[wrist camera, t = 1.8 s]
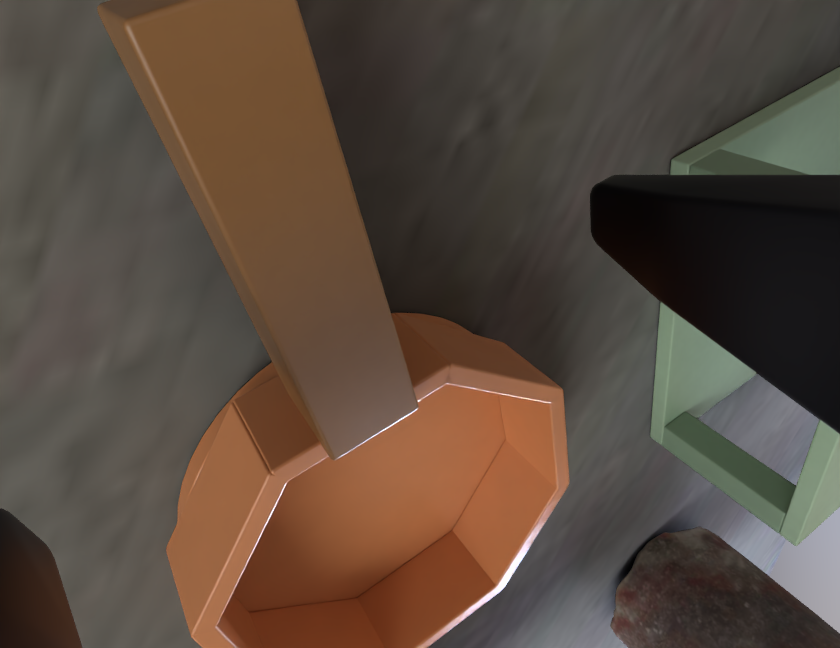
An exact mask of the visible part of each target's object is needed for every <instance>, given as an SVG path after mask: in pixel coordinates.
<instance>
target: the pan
mask: <svg viewBox="0 0 840 648" xmlns="http://www.w3.org/2000/svg"><path fill="white" fill-rule="evenodd" d="M97 9H98V14H99V16H100V18H101V20H102V22H103V24H104V26H105V28H106V30H107V32H108V34H109V36H110V38H111V40H112V42H113V44H114V46H115V48H116V50H117V52H118V54H119V56H120V58H121V60H122V62H123V64H124V66H125V68H126V70H127V72H128V74H129V76H130V78H131V80H132V82H133V84H134V86H135V88H136V90H137V92H138V94H139V96H140V98H141V100H142V102H143V104H144V106H145V108H146V110H147V112H148V114H149V116H150V118H151V120H152V122H153V124H154V126H155V128H156V130H157V132H158V134H159V136H160V138H161V140H162V142H163V144H164V146H165V148H166V150H167V152H168V154H169V156H170V158H171V160H172V162H173V164H174V166H175V168H176V170H177V172H178V174H179V176H180V178H181V180H182V182H183V184H184V186H185V188H186V190H187V192H188V194H189V196H190V198H191V200H192V202H193V204H194V206H195V208H196V210H197V212H198V214H199V216H200V218H201V220H202V222H203V224H204V226H205V228H206V230H207V232H208V234H209V236H210V238H211V240H212V242H213V244H214V246H215V248H216V250H217V252H218V254H219V256H220V258H221V260H222V262H223V264H224V266H225V268H226V270H227V272H228V274H229V276H230V278H231V280H232V282H233V284H234V286H235V288H236V290H237V292H238V294H239V296H240V298H241V300H242V302H243V304H244V306H245V308H246V310H247V312H248V314H249V316H250V318H251V320H252V322H253V324H254V326H255V328H256V330H257V332H258V334H259V336H260V338H261V340H262V342H263V344H264V346H265V348H266V350H267V352H268V354H269V356H270V358H271V360H272V362H271V363H270V364H269V365H267V366H266V367H265V368H263V369H262V370H261V371H259V372H258V373H257V374H256V375H255V376H254V377H253V378H252V379H251V380H249V381H248V382H247V383H246V384H245V385H244V386H243V387H242V388H241V389H240V390H239V391H238V392H237V393H236V394H235V395H234V396H233V397H232V398H231V400H230V401H229V402H228V403H227V404H226V405H225V406H224V408H223V409H222V410H221V411H220V412H219V413H218V415H217V416H216V418H215V419H214V420H213V422H212V423H211V425H210V426H209V428H208V429H207V431H206V432H205V434H204V435H203V436H202V438H201V440H200V442H199V444H198V446H197V448H196V450H195V452H194V454H193V456H192V458H191V460H190V462H189V465H188V468H187V471H186V473H185V476H184V479H183V482H182V486H181V491H180V497H179V502H178V523H177V525H176V527H175V529H174V532H173V534H172V536H171V538H170V540H169V543H168V545H167V547H166V550H167V556H168V559H169V562H170V566H171V569H172V573H173V576H174V580H175V583H176V586H177V590H178V593H179V597H180V600H181V604H182V607H183V610H184V614H185V617H186V621H187V624H188V628H189V631H190V634H191V637H192V638H193V639H194V640H195V641H196V642H197V643H198V644H199V645H200V646H201V647H202V648H427V647H429V646H430V645H431V644H433V643H434V642H435V641H436V640H438V639H439V638H440V637H442V636H443V635H444V634H446V633H447V632H448V631H449V630H451V629H452V628H453V627H455V626H456V625H457V624H459V623H460V622H461V621H462V620H464V619H465V618H466V617H468V616H469V615H470V614H472V613H473V612H474V611H475V610H477V609H478V608H479V607H481V606H482V605H483V604H485V603H486V602H487V601H489V600H490V599H491V598H492V597H494V596H495V595H496V594H498V593H499V592H500V591H501V590H502V589H503V588H504V587H505V585H506V584H507V582H508V581H509V579H510V578H511V576H512V574H513V573H514V571H515V570H516V568H517V566H518V565H519V563H520V562H521V560H522V559H523V557H524V555H525V554H526V552H527V551H528V549H529V547H530V546H531V544H532V543H533V541H534V540H535V538H536V536H537V535H538V533H539V532H540V530H541V528H542V527H543V525H544V524H545V522H546V521H547V519H548V517H549V516H550V514H551V513H552V511H553V509H554V508H555V506H556V505H557V503H558V502H559V500H560V498H561V497H562V495H563V494H564V492H565V490H566V489H567V487H568V486H569V483H570V482H569V467H568V452H567V437H566V422H565V407H564V392H563V389H562V388H561V387H560V386H559V385H557V384H556V383H555V382H554V381H552V380H551V379H550V378H548V377H547V376H546V375H545V374H543V373H542V372H541V371H539V370H538V369H537V368H536V367H534V366H533V365H532V364H530V363H529V362H528V361H527V360H525V359H524V358H523V357H522V356H520V355H519V354H518V353H516V352H515V351H514V350H513V349H511V348H510V347H509V346H507V345H506V344H505V343H503V342H500V341H496V340H493V339H489V338H485V337H482V336H478V335H475V334H472V333H471V332H470V331H468V330H466V329H465V328H463V327H462V326H460V325H458V324H456V323H454V322H451V321H449V320H446V319H444V318H441V317H436V316H431V315H426V314H418V313H391V312H390V309H389V305H388V302H387V299H386V295H385V292H384V289H383V285H382V282H381V279H380V275H379V272H378V269H377V265H376V262H375V259H374V255H373V252H372V249H371V245H370V242H369V239H368V235H367V232H366V229H365V225H364V222H363V219H362V215H361V212H360V209H359V205H358V202H357V199H356V195H355V192H354V189H353V185H352V182H351V179H350V175H349V172H348V169H347V165H346V162H345V159H344V155H343V152H342V149H341V145H340V142H339V139H338V135H337V132H336V129H335V125H334V122H333V119H332V115H331V112H330V109H329V105H328V102H327V99H326V95H325V92H324V89H323V85H322V82H321V79H320V75H319V72H318V69H317V65H316V62H315V59H314V55H313V52H312V49H311V45H310V42H309V39H308V35H307V32H306V29H305V26H304V22H303V19H302V16H301V12H300V9H299V6H298V2H297V0H111V1H107V2H104V3H101V4H100V5H99V6H98V7H97Z"/></svg>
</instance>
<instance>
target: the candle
mask: <svg viewBox="0 0 840 648" xmlns="http://www.w3.org/2000/svg"><path fill="white" fill-rule="evenodd" d="M615 604H616V608H615V610H614V617H613V618H612V622H611V628H612V630H613V631H614V633H615V634H616V636H617V637H618V638H619V639H620V640H621V641H622V642H623V643H624V644H625V645H626V646H627V647H628V648H840V634H839V633H838V632H837V631H836V630H834V629H833V628H832V627H831V626H830V625H828V624H827V623H826V622H825V621H824V620H822V619H821V618H820V617H819V616H818V615H816V614H815V613H814V612H813V611H812V610H810V609H809V608H808V607H806V606H805V605H804V604H803V603H801V602H800V601H799V600H798V599H796V598H795V597H794V596H793V595H791V594H790V593H789V592H788V591H786V590H785V589H784V588H783V587H781V586H780V585H779V584H778V583H776V582H775V581H774V580H773V579H772V578H770V577H769V576H768V575H767V574H765V573H764V572H763V571H762V570H760V569H759V568H758V567H757V566H755V565H754V564H753V563H752V562H750V561H749V560H748V559H747V558H745V557H744V556H743V555H741V554H740V553H739V552H737V551H736V550H735V549H734V548H732V547H731V546H730V545H728V544H727V543H726V542H725V541H724V540H722V539H721V538H720V537H719V536H717V535H715V534H714V533H712V532H710V531H709V530H707V529H704V528H702V527H696V528H693V529H688V530H683V531H678V532H674V533H666V532H664V533H662V534H661V535H659V536H657V537H655V538H654V539H652V540H651V541H649V542H648V543H647V544H646V545H645V547H644V548H643V549H642V550H641V551H640V552H639V553H638V555H637V557H636V559H635V562H634V564H633V567H632V569H631V571H630V572H629V573H628V574H627V575H626V576H625V578H624V579H623V580H622V581H621V582H620V584H619V585H618V587H617V589H616V596H615Z"/></svg>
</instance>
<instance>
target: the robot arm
mask: <svg viewBox="0 0 840 648" xmlns="http://www.w3.org/2000/svg"><path fill="white" fill-rule="evenodd" d="M590 218H591V234H592V237H593V239H594V241H595V242H596V243H597V245H598V246H599V247H601V248H602V249H603V250H604V251H605V252H606V253H607V254H608V255H609V256H610V257H612V258H613V259H614V260H615V261H616V262H617V263H618V264H619V265H620V266H621V267H623V268H624V269H625V270H626V271H627V272H628V273H629V274H630V275H631V276H632V277H634V278H635V279H636V280H637V281H638V282H639V283H640V284H641V285H642V286H643V287H645V288H646V289H647V290H648V291H649V292H650V293H651V294H652V295H654V296H655V297H656V298H657V299H658V300H659V301H661V302H662V303H663V304H664V305H666V306H667V307H668V308H669V309H671V310H672V311H673V312H675V313H676V314H678V315H679V316H680V317H682V318H683V319H684V320H686V321H687V322H688V323H690V324H691V325H692V326H694V327H695V328H696V329H698V330H699V331H701V332H702V333H703V334H705V335H706V336H707V337H709V338H710V339H711V340H713V341H714V342H715V343H717V344H718V345H719V346H721V347H722V348H724V349H725V350H726V351H728V352H729V353H730V354H732V355H733V356H734V357H736V358H737V359H738V360H740V361H741V362H742V363H744V364H745V365H747V366H748V367H749V368H751V369H752V370H753V371H755V372H756V373H757V374H759V375H760V376H761V377H763V378H764V379H765V380H767V381H768V382H770V383H771V384H772V385H774V386H775V387H776V388H778V389H779V390H780V391H782V392H783V393H784V394H786V395H787V396H788V397H790V398H791V399H793V400H794V401H795V402H797V403H798V404H799V405H801V406H802V407H803V408H805V409H806V410H807V411H809V412H810V413H811V414H813V415H814V416H816V417H817V418H818V419H820V420H821V421H822V422H824V423H825V424H826V425H828V426H829V427H830V428H832V429H833V430H835V431H836V432H837V433H839V434H840V175H614V176H611V177H609V178H607V179H605V180H603V181H601V182H600V183H598V184H596V185H595V186H594V187H593V188H592V191H591V193H590ZM0 648H82V645H81V641H80V638H79V635H78V632H77V629H76V625H75V622H74V619H73V616H72V613H71V610H70V606H69V603H68V600H67V597H66V594H65V591H64V587H63V584H62V581H61V578H60V575H59V571H58V568H57V565H56V562H55V559H54V557H53V555H52V553H51V551H50V549H49V548H48V546H47V545H46V544H45V543H44V542H43V541H42V540H41V539H40V538H38V537H37V536H36V535H35V534H34V533H33V532H32V531H30V530H29V529H28V528H27V527H26V526H25V525H24V524H22V523H21V522H20V521H19V520H18V519H17V518H16V517H14V516H13V515H12V514H11V513H10V512H8V511H6V510H4V509H0Z"/></svg>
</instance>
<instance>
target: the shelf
mask: <svg viewBox="0 0 840 648" xmlns="http://www.w3.org/2000/svg"><path fill="white" fill-rule="evenodd" d="M670 175H840V67H838V68H836V69H834V70H833V71H831V72H829V73H827V74H825V75H824V76H822V77H820V78H818V79H816V80H815V81H813V82H811V83H809V84H807V85H805V86H804V87H802V88H800V89H798V90H796V91H795V92H793V93H791V94H789V95H787V96H786V97H784V98H782V99H780V100H778V101H776V102H775V103H773V104H771V105H769V106H767V107H766V108H764V109H762V110H760V111H758V112H756V113H755V114H753V115H751V116H749V117H747V118H746V119H744V120H742V121H740V122H738V123H737V124H735V125H733V126H731V127H729V128H727V129H726V130H724V131H722V132H720V133H718V134H717V135H715V136H713V137H711V138H709V139H708V140H706V141H704V142H702V143H700V144H698V145H697V146H695V147H693V148H691V149H689V150H688V151H686V152H684V153H682V154H680V155H679V156H677V157H675V158H673V159H672V160H671V169H670ZM756 374H757V373H756V372H755V371H753V370H752V369H751V368H749V367H748V366H747V365H745V364H744V363H742V362H741V361H740V360H738V359H737V358H736V357H734V356H733V355H732V354H730V353H729V352H728V351H726V350H725V349H724V348H722V347H721V346H719V345H718V344H717V343H715V342H714V341H713V340H711V339H710V338H709V337H707V336H706V335H705V334H703V333H702V332H701V331H699V330H698V329H696V328H695V327H694V326H692V325H691V324H690V323H688V322H687V321H686V320H684V319H683V318H682V317H680V316H679V315H678V314H676V313H675V312H673V311H672V310H671V309H669V308H668V307H667V306H666V305H664V304H663V303H662V302H661V301H660V313H659V326H658V340H657V353H656V366H655V379H654V392H653V405H652V418H651V431H650V437H651V438H652V439H654V440H655V441H656V442H658V443H659V444H660V445H662V446H663V447H664V448H665V449H667V450H668V451H669V452H671V453H672V454H673V455H675V456H676V457H677V458H679V459H680V460H681V461H683V462H684V463H685V464H687V465H688V466H689V467H691V468H692V469H693V470H695V471H696V472H697V473H699V474H700V475H701V476H703V477H704V478H705V479H707V480H708V481H709V482H711V483H712V484H713V485H715V486H716V487H717V488H719V489H720V490H721V491H723V492H724V493H725V494H727V495H728V496H729V497H731V498H732V499H733V500H735V501H736V502H737V503H739V504H740V505H741V506H743V507H744V508H745V509H747V510H748V511H749V512H751V513H752V514H753V515H755V516H756V517H757V518H759V519H760V520H761V521H763V522H764V523H765V524H767V525H768V526H769V527H771V528H772V529H773V530H775V531H776V532H777V533H779V532H780V535H781V536H783V537H784V538H785V539H787V540H788V541H789V542H791V543H792V544H793V545H795V546H797V545H798V544H799V543H800V542H802V541H803V540H804V539H805V538H806V537H807V536H808V535H809V534H810V533H812V532H813V531H814V530H815V529H816V528H817V527H818V526H819V525H820V524H821V523H822V522H824V521H825V520H826V519H827V518H828V517H829V516H830V515H831V514H832V513H833V512H834V511H836V510H837V509H838V508H839V507H840V434H839V433H837V432H836V431H835V430H833V429H832V428H830V427H829V426H828V425H826V424H825V423H824V422H822V421H821V420H819V423H818V426H817V429H816V431H815V434H814V437H813V440H812V443H811V446H810V448H809V451H808V454H807V457H806V460H805V463H804V465H803V468H802V471H801V474H800V477H799V480H798V482H797V485H796V486H795V485H794V484H792V483H791V482H789V481H788V480H786V479H785V478H783V477H782V476H781V475H779V474H778V473H776V472H775V471H773V470H772V469H770V468H769V467H767V466H766V465H764V464H763V463H761V462H760V461H758V460H757V459H755V458H754V457H752V456H751V455H749V454H748V453H747V452H745V451H744V450H742V449H741V448H739V447H738V446H736V445H735V444H733V443H732V442H730V441H729V440H727V439H726V438H724V437H723V436H721V435H720V434H718V433H717V432H716V431H714V430H713V429H711V428H710V427H708V426H707V425H705V424H704V423H702V422H701V421H699V420H698V419H697V418H699V417H700V416H701V415H703V414H704V413H705V412H707V411H708V410H709V409H711V408H712V407H713V406H715V405H716V404H717V403H719V402H720V401H721V400H723V399H724V398H725V397H727V396H728V395H729V394H731V393H732V392H733V391H735V390H736V389H737V388H739V387H740V386H741V385H743V384H744V383H745V382H747V381H748V380H749V379H751V378H752V377H753V376H755V375H756Z"/></svg>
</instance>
